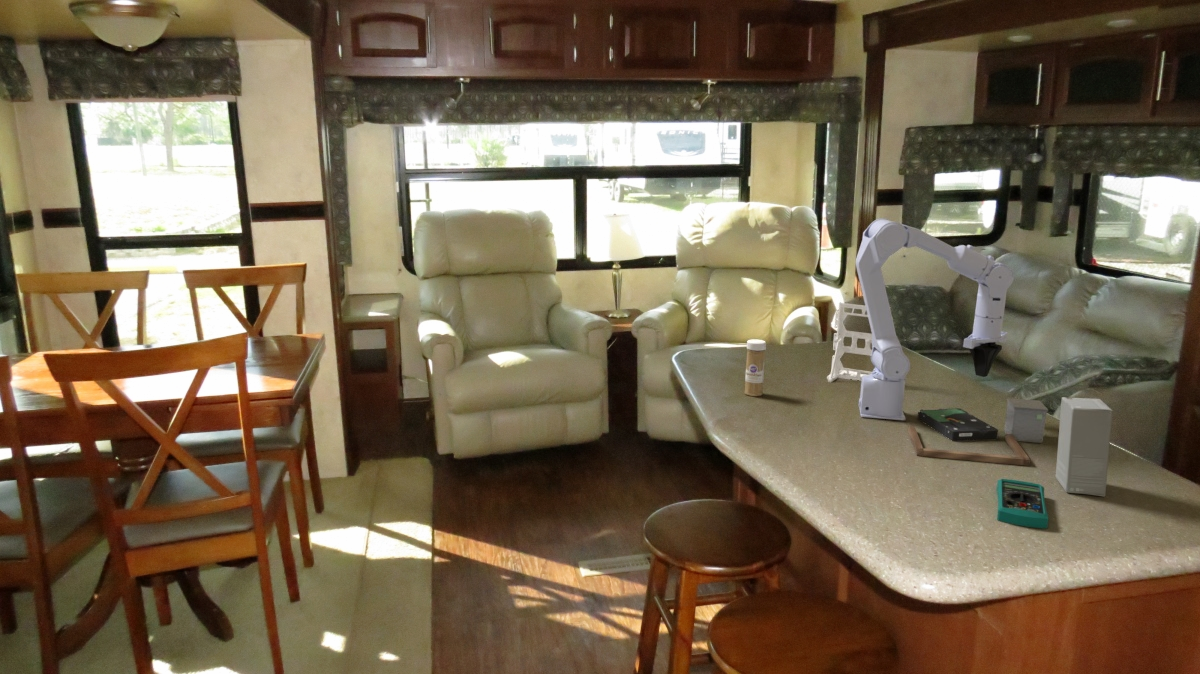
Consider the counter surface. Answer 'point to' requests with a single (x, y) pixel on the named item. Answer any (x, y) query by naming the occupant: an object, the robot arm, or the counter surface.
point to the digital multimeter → (1021, 503)
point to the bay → (1019, 452)
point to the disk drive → (958, 424)
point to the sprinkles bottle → (755, 367)
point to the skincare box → (1083, 445)
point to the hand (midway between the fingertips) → (981, 375)
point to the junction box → (1025, 420)
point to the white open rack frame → (853, 349)
